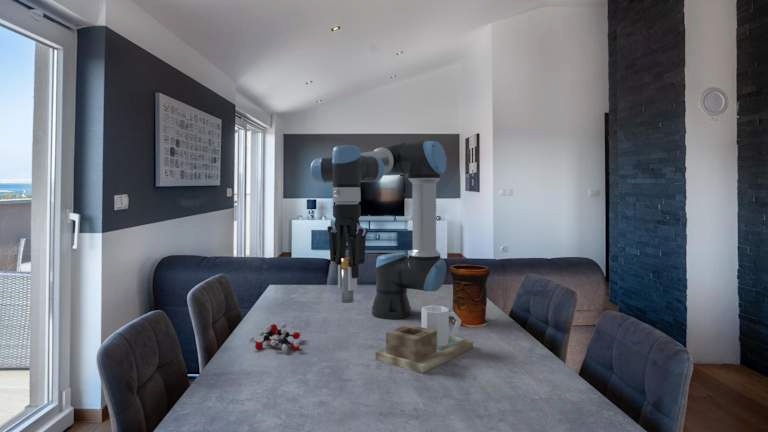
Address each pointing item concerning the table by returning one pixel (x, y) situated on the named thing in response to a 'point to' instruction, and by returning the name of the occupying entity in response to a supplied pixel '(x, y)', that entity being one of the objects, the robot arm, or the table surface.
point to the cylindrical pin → (345, 281)
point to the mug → (439, 322)
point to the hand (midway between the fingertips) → (347, 288)
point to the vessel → (470, 294)
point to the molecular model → (272, 331)
